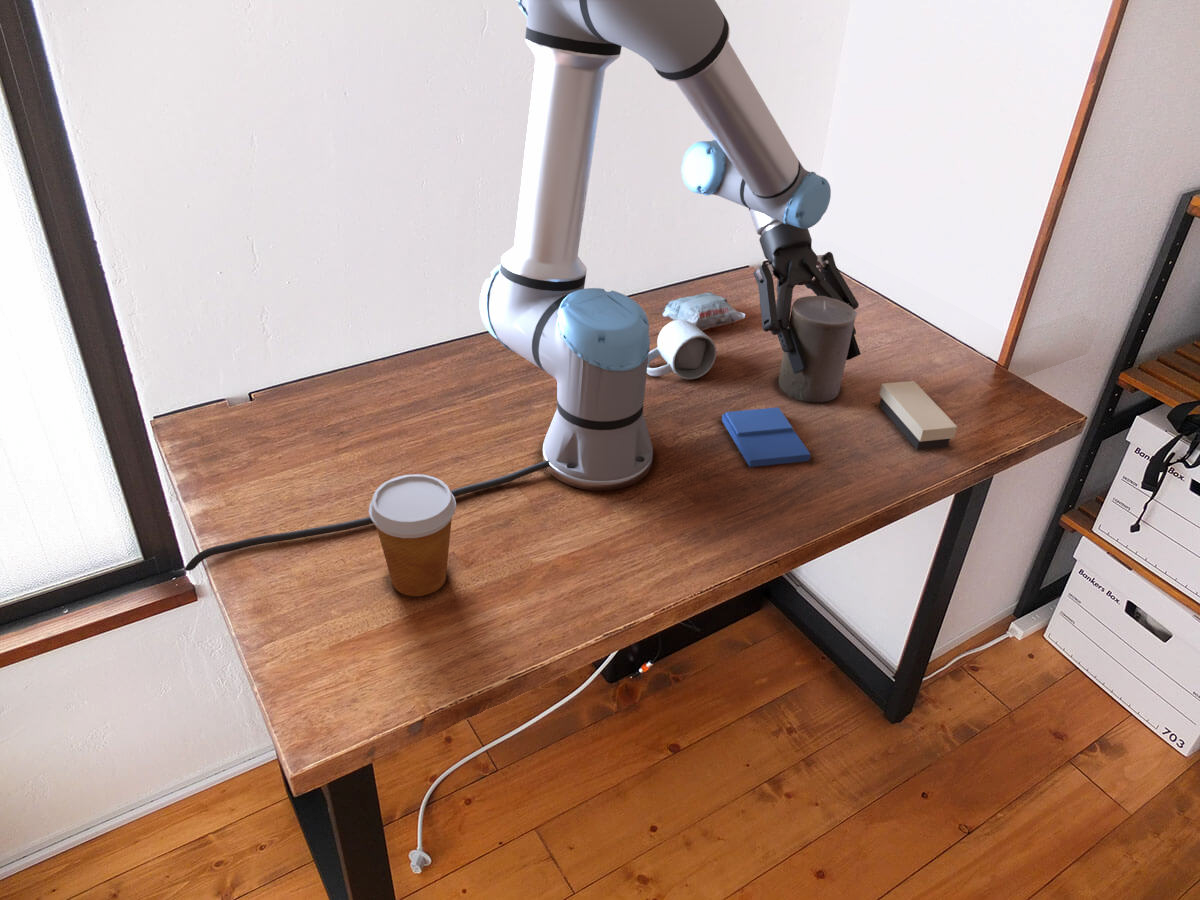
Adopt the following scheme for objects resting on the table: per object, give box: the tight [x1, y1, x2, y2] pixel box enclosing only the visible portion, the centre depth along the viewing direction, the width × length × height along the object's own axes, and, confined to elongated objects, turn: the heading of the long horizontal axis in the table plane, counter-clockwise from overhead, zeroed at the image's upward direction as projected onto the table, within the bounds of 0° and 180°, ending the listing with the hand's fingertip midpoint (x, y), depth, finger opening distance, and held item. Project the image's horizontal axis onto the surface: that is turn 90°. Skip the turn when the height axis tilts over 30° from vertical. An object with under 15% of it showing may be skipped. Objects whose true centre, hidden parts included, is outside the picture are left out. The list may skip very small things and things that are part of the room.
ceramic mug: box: [647, 319, 717, 380], centre depth 152 cm, size 11×8×8 cm
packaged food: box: [662, 291, 746, 331], centre depth 166 cm, size 9×12×5 cm
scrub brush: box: [878, 380, 958, 451], centre depth 142 cm, size 6×13×4 cm, turn 13°
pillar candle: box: [777, 295, 858, 404], centre depth 147 cm, size 10×10×15 cm
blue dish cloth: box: [721, 406, 812, 468], centre depth 138 cm, size 9×12×2 cm
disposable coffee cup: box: [368, 473, 457, 597], centre depth 108 cm, size 10×10×12 cm
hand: (827, 363), depth 146 cm, fingers closed on pillar candle, 9 cm apart
